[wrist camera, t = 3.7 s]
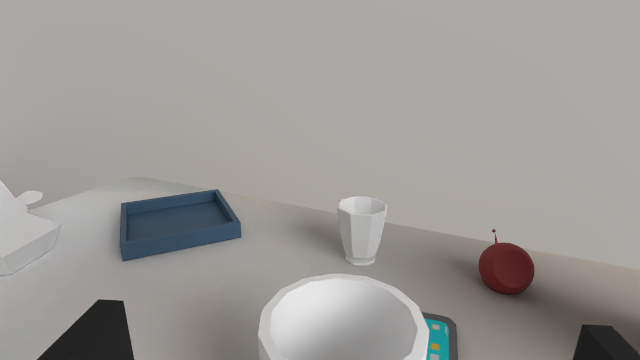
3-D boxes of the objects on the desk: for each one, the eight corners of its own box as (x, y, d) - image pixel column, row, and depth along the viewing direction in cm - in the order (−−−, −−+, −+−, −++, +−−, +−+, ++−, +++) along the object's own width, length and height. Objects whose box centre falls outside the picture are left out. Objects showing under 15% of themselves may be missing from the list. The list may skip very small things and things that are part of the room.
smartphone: (319, 290, 44) (455, 316, 39) (319, 298, 44) (454, 323, 40) (292, 342, 36) (459, 380, 32) (293, 350, 36) (457, 389, 32)
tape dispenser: (77, 237, 58) (58, 151, 54) (-7, 290, 45) (-41, 183, 41) (28, 234, 59) (6, 150, 55) (-68, 285, 46) (-108, 180, 42)
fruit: (520, 292, 49) (517, 230, 50) (541, 297, 43) (538, 227, 45) (471, 289, 49) (470, 228, 51) (486, 293, 44) (484, 224, 45)
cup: (326, 262, 52) (326, 208, 49) (357, 234, 60) (359, 186, 57) (373, 277, 48) (376, 219, 46) (400, 245, 56) (404, 195, 54)
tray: (241, 237, 59) (240, 222, 58) (122, 261, 52) (119, 244, 51) (219, 201, 73) (218, 189, 72) (123, 216, 66) (121, 203, 65)
